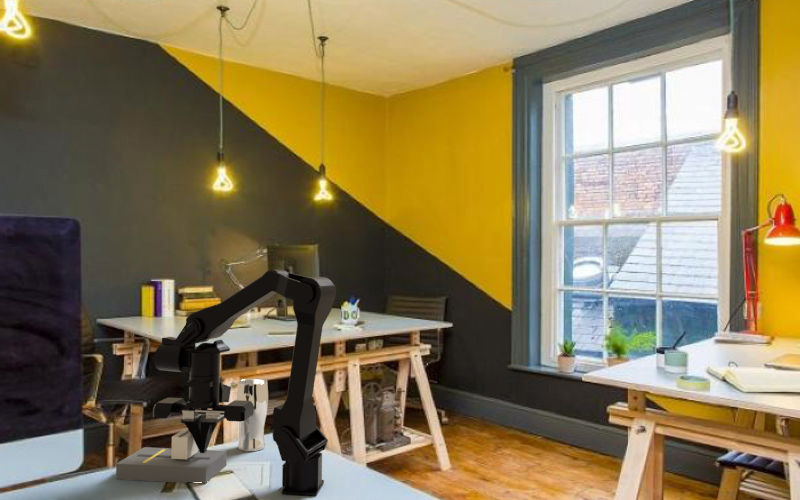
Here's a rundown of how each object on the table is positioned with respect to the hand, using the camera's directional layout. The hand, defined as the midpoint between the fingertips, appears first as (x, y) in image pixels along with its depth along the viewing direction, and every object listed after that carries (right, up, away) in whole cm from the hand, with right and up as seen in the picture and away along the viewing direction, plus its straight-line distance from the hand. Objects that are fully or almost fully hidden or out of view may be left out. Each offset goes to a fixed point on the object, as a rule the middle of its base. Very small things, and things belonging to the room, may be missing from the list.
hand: (203, 452), depth 116 cm
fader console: (-6, -4, 0) cm, 7 cm away
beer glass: (+6, -5, +16) cm, 18 cm away
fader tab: (-4, -1, 0) cm, 4 cm away
